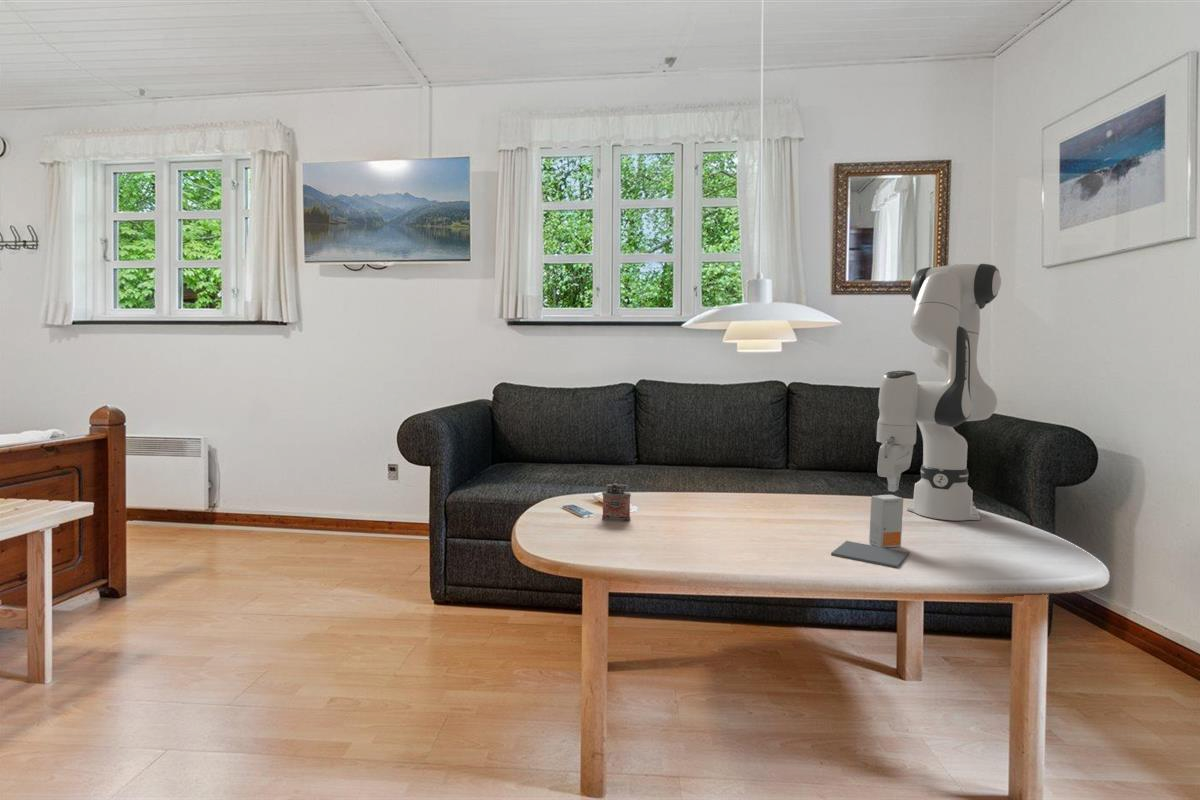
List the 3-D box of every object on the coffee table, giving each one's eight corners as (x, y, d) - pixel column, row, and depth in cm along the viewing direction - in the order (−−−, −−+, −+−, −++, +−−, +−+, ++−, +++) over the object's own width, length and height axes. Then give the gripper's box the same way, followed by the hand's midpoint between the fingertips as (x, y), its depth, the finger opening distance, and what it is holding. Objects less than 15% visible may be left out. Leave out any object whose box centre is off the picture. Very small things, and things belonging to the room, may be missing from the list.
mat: (846, 542, 150) (846, 540, 150) (909, 554, 142) (909, 552, 141) (831, 554, 141) (831, 552, 141) (897, 567, 132) (897, 565, 132)
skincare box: (881, 548, 145) (882, 499, 145) (868, 543, 150) (870, 495, 149) (902, 546, 147) (904, 497, 146) (889, 541, 151) (891, 494, 150)
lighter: (600, 519, 170) (600, 484, 169) (604, 516, 173) (604, 481, 173) (628, 522, 168) (629, 486, 167) (631, 519, 171) (632, 483, 170)
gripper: (900, 440, 142) (897, 499, 143) (918, 434, 158) (915, 486, 159) (871, 437, 146) (868, 495, 146) (891, 431, 162) (888, 483, 163)
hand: (893, 490), depth 153 cm, fingers closed
